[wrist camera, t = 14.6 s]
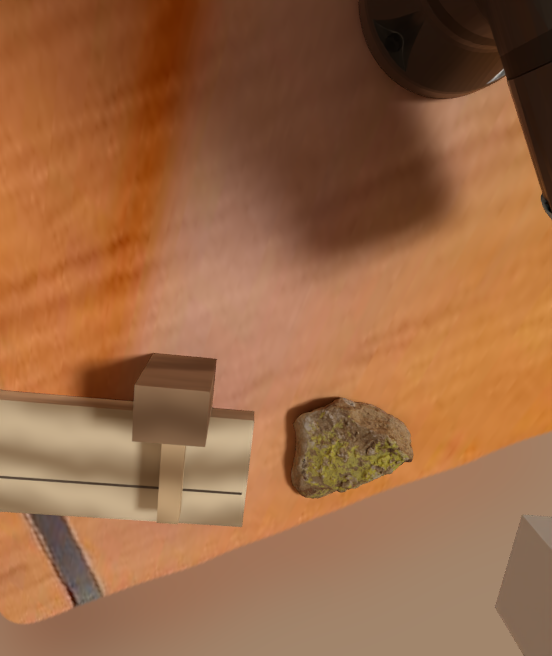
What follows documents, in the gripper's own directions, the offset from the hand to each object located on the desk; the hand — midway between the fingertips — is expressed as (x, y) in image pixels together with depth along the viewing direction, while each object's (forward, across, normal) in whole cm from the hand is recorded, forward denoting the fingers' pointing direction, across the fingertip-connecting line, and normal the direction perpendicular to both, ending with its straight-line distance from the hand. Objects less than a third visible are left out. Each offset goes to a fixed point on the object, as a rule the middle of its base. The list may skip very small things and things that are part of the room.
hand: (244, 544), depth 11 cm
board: (+35, -12, -19) cm, 41 cm away
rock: (+35, +11, -15) cm, 40 cm away
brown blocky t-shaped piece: (+35, -5, -15) cm, 38 cm away
